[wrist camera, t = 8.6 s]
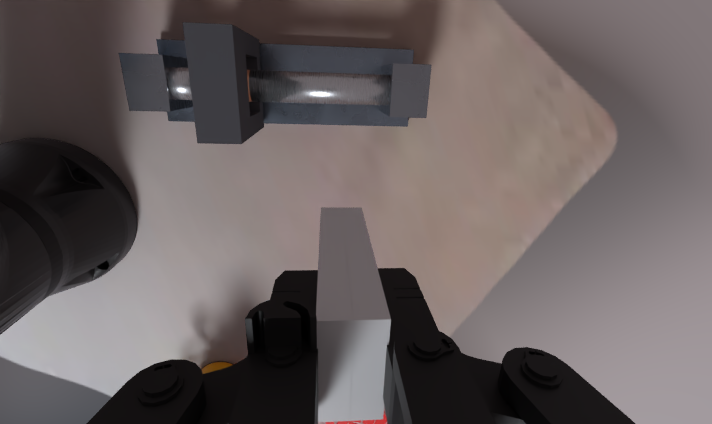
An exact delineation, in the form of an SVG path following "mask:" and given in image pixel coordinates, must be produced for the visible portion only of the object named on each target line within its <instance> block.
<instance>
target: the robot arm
mask: <svg viewBox="0 0 712 424" xmlns="http://www.w3.org/2000/svg"><path fill="white" fill-rule="evenodd" d="M136 229H137V219H136V212H135V208H134V205H133V202H132V199H131V197H130V195H129V193H128V191H127V189H126V188H125V186H124V185H123V183H122V182H121V180H120V179H119V178H118V177H117V175H116V174H115V173H114V172H113V171H112V170H111V169H110V168H109V167H108V166H107V165H105V164H104V163H103V162H102V161H100V160H99V159H98V158H96V157H95V156H93V155H92V154H90V153H88V152H86V151H85V150H83V149H81V148H78V147H76V146H74V145H71V144H68V143H65V142H61V141H57V140H52V139H44V138H29V139H22V140H16V141H11V142H7V143H2V144H0V334H2V333H3V332H4V331H5V330H7V329H8V328H9V327H10V326H12V325H13V324H14V323H15V322H17V321H18V320H19V319H20V318H21V317H23V316H24V315H25V314H26V313H28V312H29V311H30V310H31V309H33V308H34V307H35V306H36V305H37V304H39V303H40V302H41V301H43V300H44V299H45V298H46V297H48V296H50V295H53V294H56V293H59V292H62V291H65V290H68V289H71V288H74V287H76V286H79V285H82V284H85V283H88V282H91V281H93V280H95V279H97V278H99V277H101V276H102V275H104V274H106V273H107V272H108V271H110V270H111V269H112V268H113V267H114V266H115V265H116V264H118V263H119V262H120V261H121V260H122V259H123V258H124V257H125V256H126V255H127V253H128V252H129V250H130V249H131V247H132V245H133V242H134V239H135V235H136ZM245 325H246V336H247V347H248V356H247V357H246V358H245V359H244V360H242V361H240V362H238V363H236V364H234V365H232V366H229V367H226V368H223V369H220V370H216V371H212V372H209V373H205V374H203V373H202V370H201V369H200V368H199V367H198V366H197V364H196V363H193V362H190V361H187V360H168V361H164V362H160V363H156V364H154V365H152V366H150V367H148V368H146V369H144V370H142V371H140V372H139V373H137V374H136V375H135V376H134V377H132V378H131V379H130V380H129V381H127V382H126V383H125V385H124V386H123V387H122V388H121V389H120V390H119V391H118V392H117V393H116V394H115V395H114V396H113V397H112V398H111V399H110V400H109V401H108V402H107V403H106V404H105V405H104V406H103V407H102V408H101V409H100V410H99V412H97V413H96V415H95V416H94V417H93V418H92V419H91V420H90V421H89V422H88V423H87V424H318V422H336V421H359V420H381V419H383V414H384V406H385V412H386V418H387V423H388V424H635V423H634V422H633V421H632V420H631V419H630V418H628V417H627V416H626V415H625V414H624V413H623V412H621V411H620V410H619V409H618V408H617V407H615V406H614V405H613V404H612V403H611V402H610V401H609V400H607V398H605V397H604V396H603V395H602V394H601V393H600V392H598V391H597V390H596V389H595V388H594V387H593V386H591V385H590V384H589V383H588V382H587V381H586V380H584V379H583V378H582V377H581V376H580V375H579V374H578V373H576V372H575V371H574V370H573V369H572V368H571V367H570V366H568V365H567V364H566V363H564V362H563V361H561V360H560V359H558V358H557V357H556V356H553V355H551V354H549V353H547V352H544V351H542V350H538V349H532V348H528V347H525V348H514V349H513V350H511V351H508V352H507V353H506V355H505V356H504V358H503V361H502V364H501V363H496V362H491V361H486V360H482V359H477V358H474V357H470V356H467V355H465V354H463V353H461V351H460V349H459V348H458V346H457V345H456V344H455V342H454V341H453V340H452V339H451V338H450V337H448V336H447V335H445V334H444V333H442V332H439V330H438V328H437V326H436V323H435V321H434V319H433V317H432V314H431V312H430V310H429V308H428V305H427V303H426V301H425V299H424V296H423V294H422V292H421V290H420V287H419V285H418V283H417V280H416V278H415V277H414V276H413V275H412V274H411V273H409V272H408V271H407V270H406V269H405V268H377V265H376V261H375V257H374V253H373V249H372V246H371V242H370V238H369V234H368V231H367V227H366V223H365V219H364V215H363V212H362V208H321V219H320V240H319V261H318V270H302V271H284V272H283V273H282V274H281V275H280V276H279V277H278V278H277V279H276V280H275V283H274V287H273V291H272V295H271V299H270V300H269V301H266V302H263V303H260V304H259V305H257V306H256V307H255V308H253V309H252V310H250V312H249V313H248V315H247V316H246V318H245Z"/></svg>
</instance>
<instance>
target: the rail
mask: <svg viewBox="0 0 712 424" xmlns="http://www.w3.org/2000/svg"><path fill="white" fill-rule="evenodd" d="M156 40H157V46H158V53H159V55H158V54H131V53H119V57H120V62H121V67H122V73H123V78H124V84H125V89H126V94H127V100H128V105H129V111H167V114H168V120H169V121H190V122H195V118H194V110H193V102H192V94H191V86H190V78H189V70H188V62H187V54H186V46H185V40H161V39H156ZM259 49H260V66H261V70H247V80H248V94H249V102H263V118H264V123H277V124H321V125H365V126H408V118H426V115H427V105H428V95H429V85H430V74H431V65H425V64H413V53H414V50H406V49H381V48H357V47H332V46H308V45H283V44H259Z"/></svg>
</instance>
